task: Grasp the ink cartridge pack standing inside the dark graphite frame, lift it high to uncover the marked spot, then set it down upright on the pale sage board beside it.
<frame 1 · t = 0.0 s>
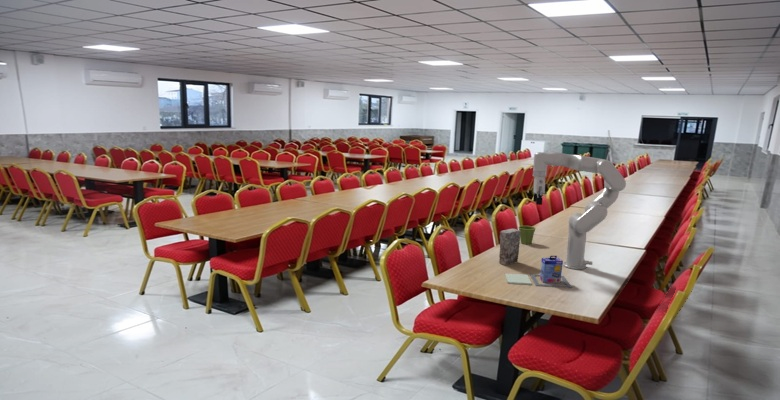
hand: (537, 203, 276), 37 cm above the table, tool pointing down, fingers open, 9 cm apart
stone block: (508, 263, 284), on the table
ink cartridge box: (550, 281, 253), on the table
sage board: (517, 279, 254), on the table
plant pot: (525, 243, 331), on the table
marked spot frame: (550, 281, 253), on the table
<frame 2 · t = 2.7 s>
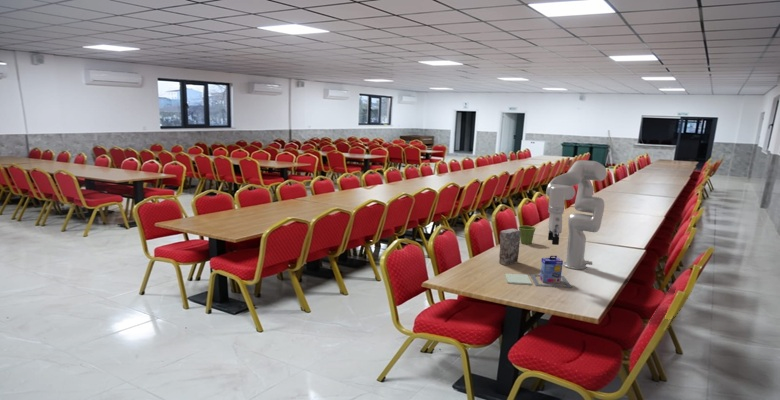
hand: (553, 242, 249), 21 cm above the table, tool pointing down, fingers open, 9 cm apart
nothing on the table moved.
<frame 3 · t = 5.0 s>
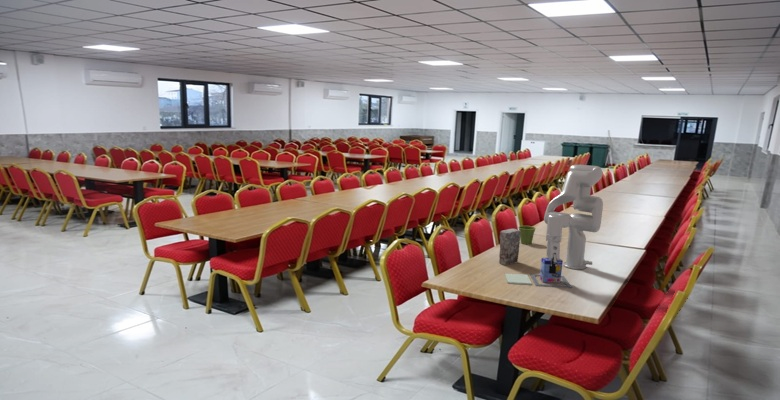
hand: (551, 270, 252), 6 cm above the table, tool pointing down, fingers closed on ink cartridge box, 6 cm apart
ink cartridge box: (550, 281, 253), on the table, touching gripper
everything else where it was.
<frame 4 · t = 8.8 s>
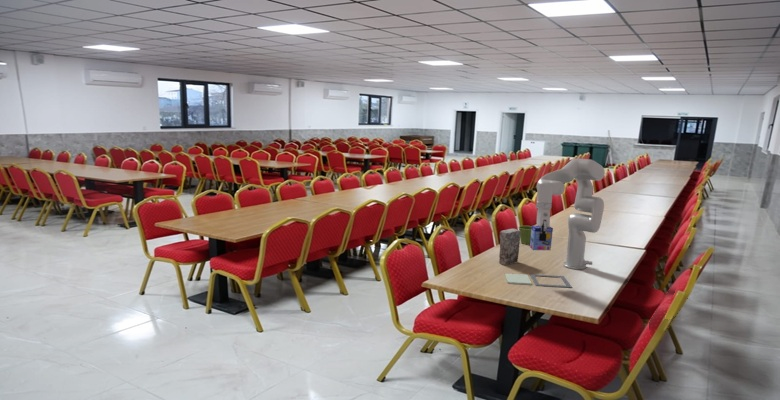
hand: (541, 238, 249), 23 cm above the table, tool pointing down, fingers closed on ink cartridge box, 6 cm apart
ink cartridge box: (540, 249, 250), point 17 cm above the table, touching gripper
everything else where it was.
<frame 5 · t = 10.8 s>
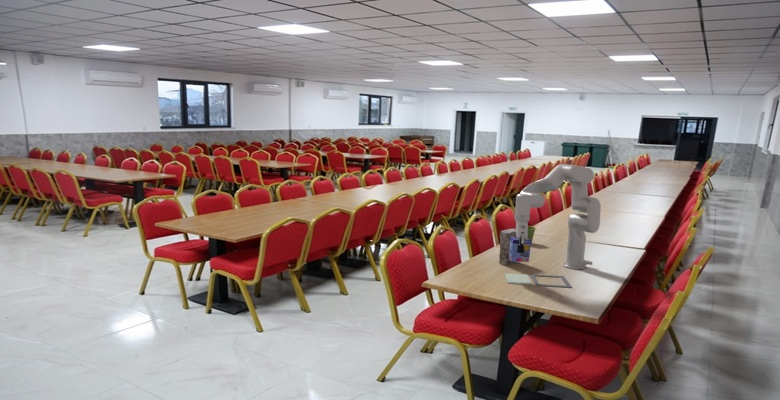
hand: (519, 250, 251), 16 cm above the table, tool pointing down, fingers closed on ink cartridge box, 6 cm apart
ink cartridge box: (518, 261, 252), point 10 cm above the table, touching gripper
everything else where it was.
when the fingers open (8 cm above the table, at t = 12.7 s): ink cartridge box drops 1 cm, resting on sage board.
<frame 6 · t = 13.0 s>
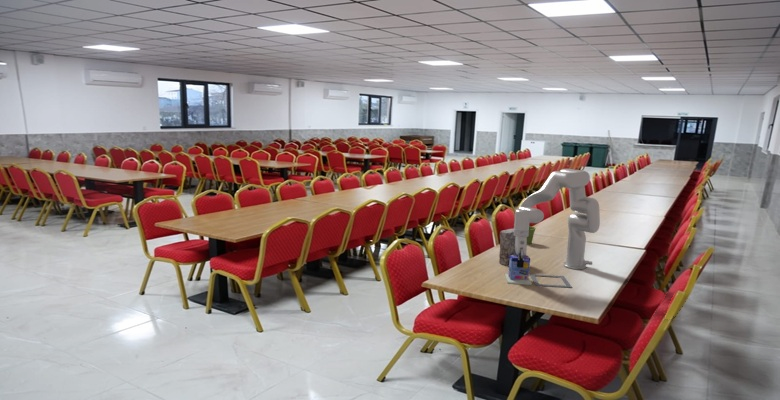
hand: (518, 264, 252), 8 cm above the table, tool pointing down, fingers open, 8 cm apart
ink cartridge box: (518, 278, 253), point 1 cm above the table, touching sage board
everything else where it was.
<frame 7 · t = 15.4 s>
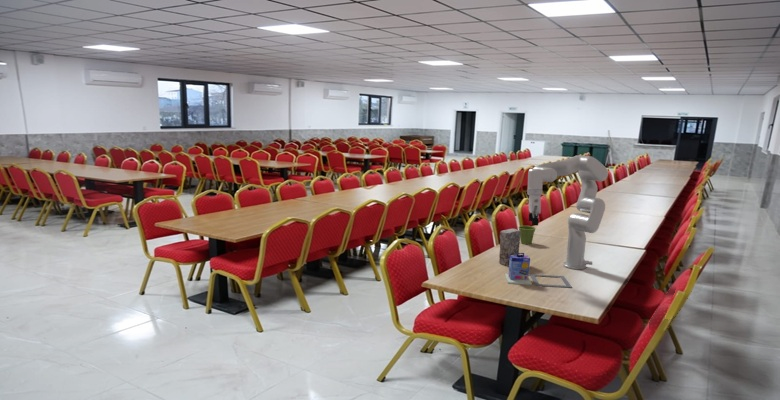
hand: (533, 223, 257), 29 cm above the table, tool pointing down, fingers open, 9 cm apart
nothing on the table moved.
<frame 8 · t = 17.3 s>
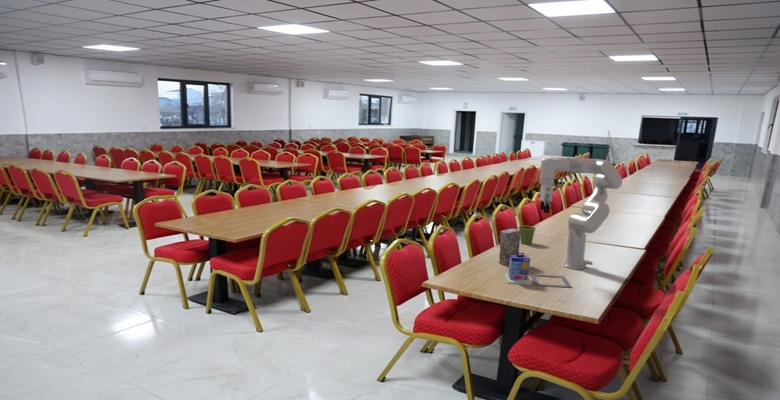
hand: (544, 211, 265), 34 cm above the table, tool pointing down, fingers open, 9 cm apart
nothing on the table moved.
at the end: ink cartridge box inside the target area on the sage board (0.2 cm from its centre), point 0.6 cm above the sage board's base; ink cartridge box tilted 0°; the gripper is holding nothing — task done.
